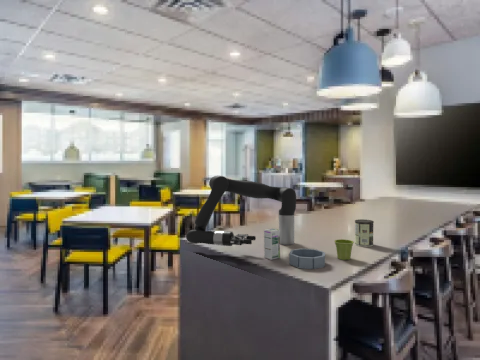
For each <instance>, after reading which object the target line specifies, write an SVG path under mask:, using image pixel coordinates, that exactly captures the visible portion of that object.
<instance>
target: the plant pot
mask: <svg viewBox="0 0 480 360" xmlns="http://www.w3.org/2000/svg"><path fill="white" fill-rule="evenodd" d="M334 244H335V247H336V248H335V249H336V254H337V255H336V257H337V259H339V260H341V261H345V260H348V261H349V260H350V259H351V255H352V250H353V245H354V244H355V241H353V240H351V239H342V238H341V239H335V240H334Z"/></svg>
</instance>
